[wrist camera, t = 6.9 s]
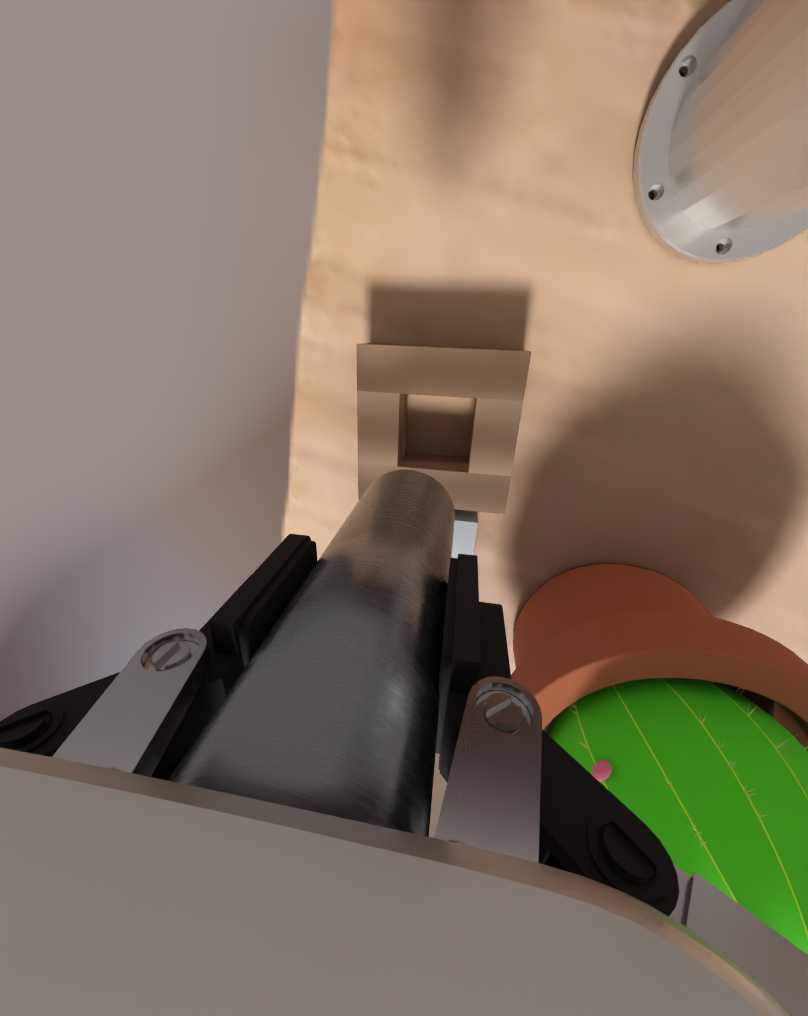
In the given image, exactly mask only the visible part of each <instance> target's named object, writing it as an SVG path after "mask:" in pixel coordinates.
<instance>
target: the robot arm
mask: <svg viewBox="0 0 808 1016" xmlns="http://www.w3.org/2000/svg"><path fill="white" fill-rule="evenodd" d="M679 71H682V72H683V73H684V77H681V76H680V74H679ZM633 183H634V192H635V200H636V203H637V206H638V210H639V213H640V216H641V219H642V221H643V222H644V224H645V226H646V228H647V229H648V231H649V233H650V234H651V236H652V237H653V238H654V239H655V240H656V241H657V242H658V243H659V244H660V245H661V246H662V247H663V248H664V249H666V250H668V251H669V252H671V253H673V254H674V255H676V256H678V257H680V258H683V259H686V260H689V261H693V262H696V263H709V264H720V263H727V262H735V261H739V260H743V259H746V258H750V257H754V256H757V255H759V254H762V253H764V252H767V251H769V250H772V249H774V248H777V247H779V246H781V245H783V244H784V243H786V242H788V241H789V240H791V239H793V238H795V237H796V236H798V235H800V234H801V233H803V232H804V231H805V230H807V229H808V0H729V1H728V2H727V3H725V4H724V5H723V6H722V7H721V8H720V9H719V10H718V11H717V12H716V13H715V14H713V15H712V16H711V17H710V18H709V19H708V20H707V21H706V22H705V23H704V24H703V25H702V26H701V27H700V28H699V29H698V30H697V32H696V33H695V34H694V35H693V37H692V38H691V39H690V40H689V41H688V43H687V44H686V45H685V46H684V48H683V49H682V50H681V51H680V53H679V54H678V56H677V57H676V58H675V60H674V61H673V63H672V64H671V66H670V67H669V68H668V70H667V71H666V73H665V74H664V76H663V78H662V80H661V82H660V84H659V85H658V87H657V89H656V91H655V93H654V95H653V97H652V98H651V100H650V103H649V106H648V108H647V111H646V114H645V116H644V119H643V121H642V124H641V127H640V131H639V135H638V140H637V144H636V149H635V154H634V169H633ZM649 192H653V194H654V198H653V200H650V198H649V197H648V193H649ZM717 245H719V247H720V248H719V251H718V253H717V252H716V246H717ZM316 563H317V550H316V543H315V542H314V541H311V539H310V537H309V536H305V535H296V534H289V535H288V536H287V537H286V538H285V539H284V541H283V542H282V543H281V544H280V545H279V546H278V547H277V548H276V549H275V550H274V551H273V552H272V553H271V555H270V556H269V557H268V558H267V559H266V560H265V561H264V562H263V563H262V564H261V565H260V567H259V568H258V569H257V570H256V571H255V572H254V573H253V574H252V575H251V576H250V577H249V578H248V579H247V580H246V581H245V582H244V583H243V584H242V585H241V586H240V587H239V588H238V590H237V591H236V592H235V593H234V594H233V595H232V596H231V597H230V598H229V599H228V600H227V602H225V604H224V605H223V606H222V607H221V608H220V609H219V610H218V611H217V612H216V613H215V614H214V615H213V616H212V618H211V619H210V620H209V621H208V622H207V623H206V624H205V625H204V626H203V627H202V628H201V629H200V630H199V631H198V630H196V629H189V628H183V629H175V630H171V631H168V632H165V633H162V634H160V635H158V636H156V637H154V638H152V639H151V640H149V641H148V642H146V643H145V644H144V645H143V646H142V647H141V648H140V649H139V650H138V651H137V652H136V653H135V654H134V656H133V657H132V658H131V659H130V661H129V662H128V663H127V664H126V666H125V667H124V668H123V669H122V671H121V672H119V673H116V674H114V675H111V676H108V677H105V678H103V679H100V680H97V681H95V682H92V683H89V684H86V685H84V686H81V687H78V688H75V689H73V690H70V691H67V692H65V693H62V694H59V695H57V696H54V697H51V698H49V699H46V700H43V701H40V702H38V703H35V704H32V705H30V706H28V707H25V708H23V709H21V710H19V711H16V712H15V713H13V714H12V715H10V716H8V717H7V718H5V719H3V720H2V721H0V1016H808V955H807V954H806V953H805V952H803V951H802V950H801V949H799V948H798V947H797V946H795V945H794V944H793V943H791V942H790V941H788V940H787V939H786V938H784V937H783V936H782V935H780V934H779V933H778V932H776V931H775V930H774V929H772V928H771V927H769V926H768V925H767V924H765V923H764V922H763V921H761V920H760V919H759V918H757V917H756V916H755V915H753V914H752V913H751V912H749V911H748V910H746V909H745V908H744V907H742V906H741V905H740V904H738V903H737V902H736V901H734V900H733V899H732V898H730V897H729V896H727V895H726V894H725V893H723V892H722V891H721V890H719V889H718V888H717V887H715V886H714V885H713V884H711V883H710V882H708V881H707V880H706V879H704V878H703V877H702V876H700V875H699V874H698V873H696V872H694V873H693V875H692V876H689V875H688V874H687V873H685V872H684V871H683V870H681V869H680V868H679V867H677V866H676V865H675V864H673V862H672V860H671V857H670V855H669V854H668V852H667V851H666V849H665V847H664V846H663V844H662V843H661V841H660V840H659V838H658V837H657V836H656V835H655V834H654V833H653V832H652V831H651V830H650V828H649V827H648V826H647V825H646V824H645V823H644V822H643V821H642V820H640V819H639V818H638V817H637V816H636V815H635V814H634V813H633V812H632V811H631V810H630V809H628V808H627V807H626V806H625V805H624V804H623V803H622V802H621V801H620V800H619V799H618V798H616V797H615V796H614V795H613V794H612V793H611V792H610V791H609V790H608V789H607V788H606V787H605V786H603V785H602V784H601V783H600V782H599V781H598V780H597V779H596V778H595V777H594V776H593V775H591V774H590V773H589V772H588V771H587V770H586V769H585V768H584V767H583V766H582V765H581V764H580V763H578V762H577V761H576V760H575V759H574V758H573V757H572V756H571V755H570V754H569V753H568V752H566V751H565V750H564V749H563V748H562V747H561V746H560V745H559V744H558V743H557V742H556V741H554V740H553V739H552V738H551V737H550V736H549V735H548V734H547V733H546V732H545V731H544V730H543V729H542V713H541V708H540V706H539V704H538V702H537V700H536V698H535V697H534V696H533V695H532V694H531V692H530V691H529V690H528V689H526V688H525V687H524V686H522V685H521V684H519V683H518V682H515V681H513V680H511V674H510V665H509V657H508V649H507V641H506V633H505V624H504V616H503V609H502V605H500V604H492V603H485V602H479V592H478V563H477V556H475V555H467V554H458V558H450V565H449V575H448V584H447V595H446V606H445V617H444V628H443V639H442V650H441V661H440V672H439V683H438V694H437V695H438V701H439V716H438V728H437V740H436V752H435V753H439V754H440V757H439V770H440V774H441V775H442V776H443V778H444V779H445V780H446V782H447V786H446V790H445V795H444V799H443V803H442V807H441V812H440V816H439V820H438V824H437V828H436V832H435V836H434V838H431V837H427V836H422V835H418V834H413V833H409V832H404V831H399V830H395V829H390V828H386V827H381V826H377V825H372V824H367V823H363V822H358V821H354V820H349V819H345V818H340V817H336V816H331V815H326V814H322V813H317V812H313V811H308V810H303V809H299V808H294V807H289V806H285V805H280V804H275V803H271V802H266V801H261V800H257V799H252V798H247V797H242V796H238V795H233V794H228V793H224V792H219V791H214V790H209V789H205V788H200V787H195V786H191V785H186V784H181V783H176V782H172V781H168V780H169V778H170V777H171V775H172V774H173V772H174V771H175V769H176V768H177V766H178V765H179V764H180V762H181V761H182V759H183V758H184V756H185V755H186V753H187V752H188V750H189V749H190V747H191V746H192V745H193V743H194V742H195V740H196V739H197V737H198V736H199V734H200V733H201V731H202V730H203V728H204V727H205V725H206V724H207V723H208V721H209V720H210V718H211V717H212V715H213V714H214V712H215V711H216V709H217V708H218V706H219V705H220V704H221V702H222V701H223V699H224V698H225V696H226V695H227V693H228V692H229V690H230V689H231V687H232V686H233V685H234V683H235V682H236V680H237V679H238V677H239V676H240V674H241V673H242V671H243V670H244V668H245V667H246V665H247V664H248V663H249V661H250V660H251V658H252V657H253V655H254V654H255V652H256V651H257V649H258V648H259V646H260V645H261V644H262V642H263V641H264V639H265V638H266V636H267V635H268V633H269V632H270V630H271V629H272V627H273V626H274V625H275V623H276V622H277V620H278V619H279V617H280V616H281V614H282V613H283V611H284V610H285V608H286V607H287V605H288V604H289V603H290V601H291V600H292V598H293V597H294V595H295V594H296V592H297V591H298V589H299V588H300V586H301V585H302V584H303V582H304V581H305V579H306V578H307V576H308V575H309V573H310V572H311V570H312V569H313V567H314V566H315V565H316Z"/></svg>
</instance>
